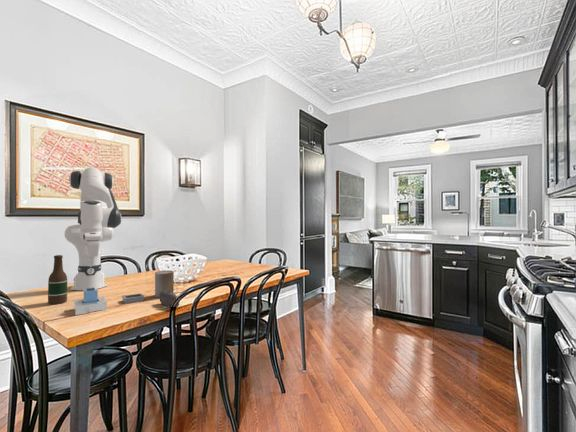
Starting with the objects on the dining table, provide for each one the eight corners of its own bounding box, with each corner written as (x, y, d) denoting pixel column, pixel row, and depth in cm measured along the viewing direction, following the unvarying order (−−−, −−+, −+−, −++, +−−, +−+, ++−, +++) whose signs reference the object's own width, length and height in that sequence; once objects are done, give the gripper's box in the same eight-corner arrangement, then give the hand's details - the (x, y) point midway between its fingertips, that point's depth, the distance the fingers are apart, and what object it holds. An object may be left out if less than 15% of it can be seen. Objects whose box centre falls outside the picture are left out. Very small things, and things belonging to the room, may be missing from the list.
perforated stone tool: (182, 308, 148) (183, 294, 148) (172, 311, 144) (172, 296, 144) (168, 302, 158) (168, 289, 158) (158, 304, 154) (158, 290, 154)
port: (74, 308, 145) (74, 300, 145) (103, 304, 153) (103, 296, 153) (75, 315, 136) (75, 306, 136) (106, 310, 143) (106, 301, 143)
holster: (122, 301, 158) (122, 295, 158) (140, 299, 164) (140, 293, 164) (125, 304, 153) (125, 298, 153) (144, 302, 158) (144, 296, 158)
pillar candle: (176, 294, 174) (176, 268, 174) (168, 299, 164) (168, 271, 165) (160, 294, 175) (160, 268, 175) (151, 298, 165) (151, 270, 166)
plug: (83, 307, 144) (83, 288, 144) (96, 305, 147) (96, 286, 147) (84, 309, 141) (84, 289, 141) (97, 307, 145) (97, 288, 145)
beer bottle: (70, 301, 158) (71, 254, 158) (55, 305, 150) (56, 256, 150) (59, 300, 160) (60, 254, 160) (43, 304, 152) (44, 255, 153)
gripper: (81, 233, 151) (81, 261, 151) (85, 236, 135) (84, 268, 135) (96, 233, 155) (96, 260, 155) (101, 236, 138) (101, 266, 139)
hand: (90, 264), depth 145 cm, fingers closed
